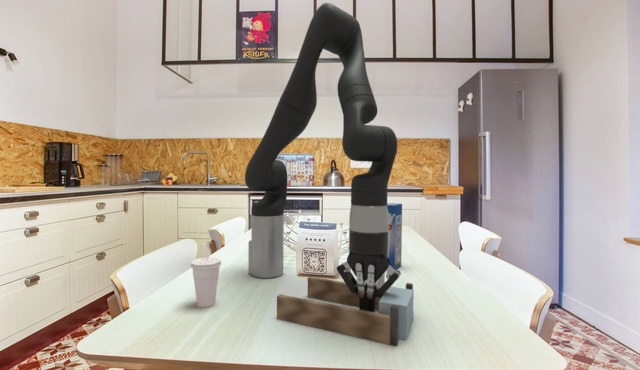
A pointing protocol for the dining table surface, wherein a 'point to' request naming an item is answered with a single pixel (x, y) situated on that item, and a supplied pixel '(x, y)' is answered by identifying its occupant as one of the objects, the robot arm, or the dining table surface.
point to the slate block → (405, 304)
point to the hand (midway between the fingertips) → (367, 315)
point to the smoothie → (206, 278)
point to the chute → (340, 312)
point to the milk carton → (394, 234)
